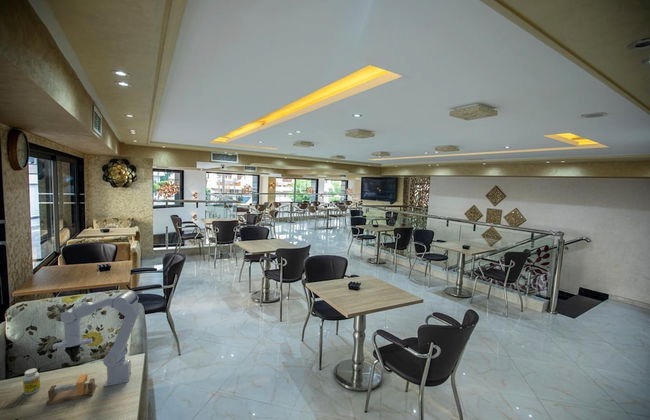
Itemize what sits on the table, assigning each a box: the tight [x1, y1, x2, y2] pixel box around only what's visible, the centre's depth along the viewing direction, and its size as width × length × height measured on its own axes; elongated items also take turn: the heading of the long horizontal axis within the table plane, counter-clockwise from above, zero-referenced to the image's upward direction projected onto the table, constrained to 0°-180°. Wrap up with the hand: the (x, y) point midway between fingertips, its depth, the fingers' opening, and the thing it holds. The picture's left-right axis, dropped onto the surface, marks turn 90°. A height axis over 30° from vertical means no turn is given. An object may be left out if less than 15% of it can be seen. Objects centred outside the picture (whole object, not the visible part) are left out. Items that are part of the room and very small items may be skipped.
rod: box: [54, 379, 94, 393], centre depth 135 cm, size 16×2×2 cm, turn 114°
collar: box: [75, 373, 88, 396], centre depth 137 cm, size 2×6×6 cm, turn 24°
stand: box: [45, 377, 97, 406], centre depth 135 cm, size 16×7×5 cm, turn 114°
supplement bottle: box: [22, 367, 41, 395], centre depth 137 cm, size 5×5×10 cm
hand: (73, 360), depth 144 cm, fingers closed
